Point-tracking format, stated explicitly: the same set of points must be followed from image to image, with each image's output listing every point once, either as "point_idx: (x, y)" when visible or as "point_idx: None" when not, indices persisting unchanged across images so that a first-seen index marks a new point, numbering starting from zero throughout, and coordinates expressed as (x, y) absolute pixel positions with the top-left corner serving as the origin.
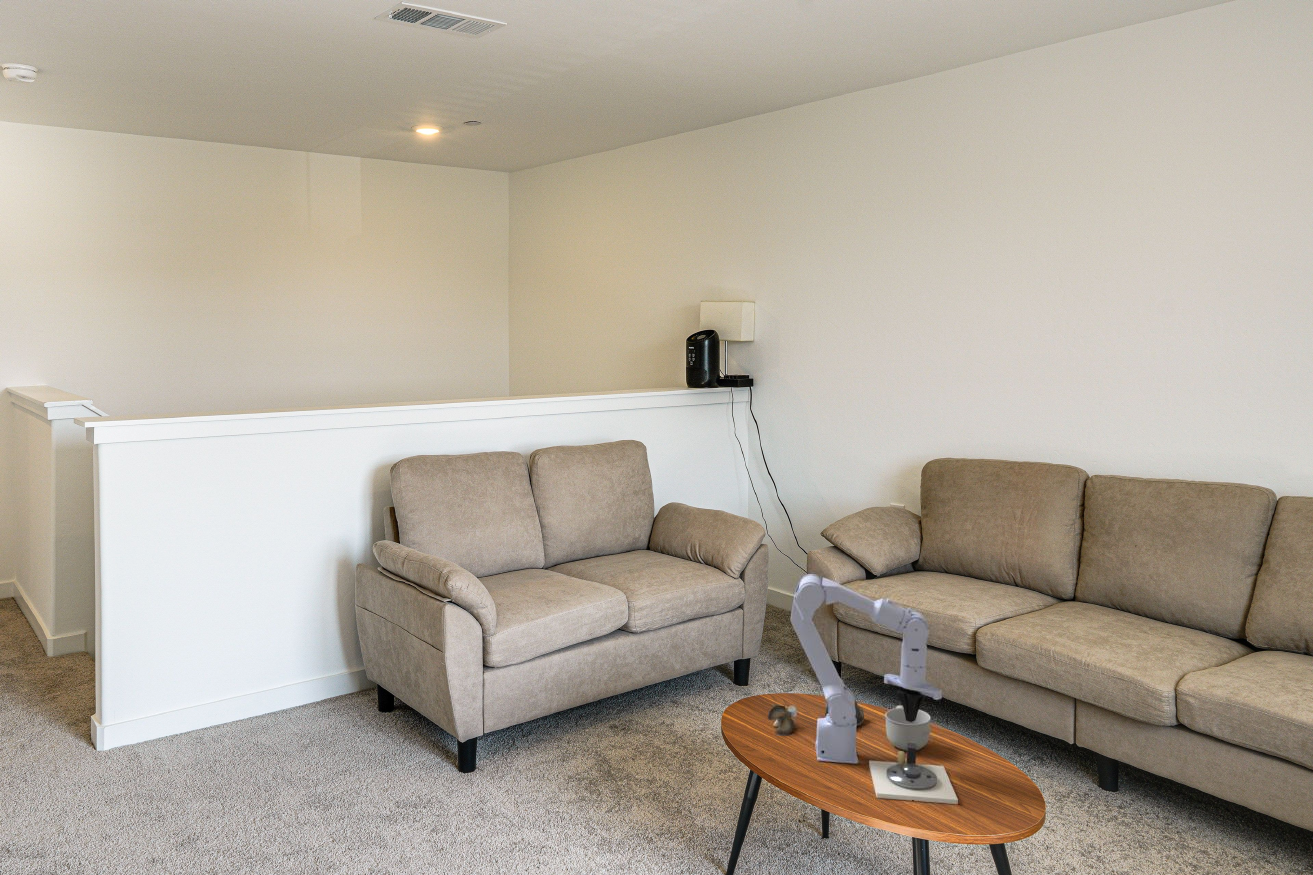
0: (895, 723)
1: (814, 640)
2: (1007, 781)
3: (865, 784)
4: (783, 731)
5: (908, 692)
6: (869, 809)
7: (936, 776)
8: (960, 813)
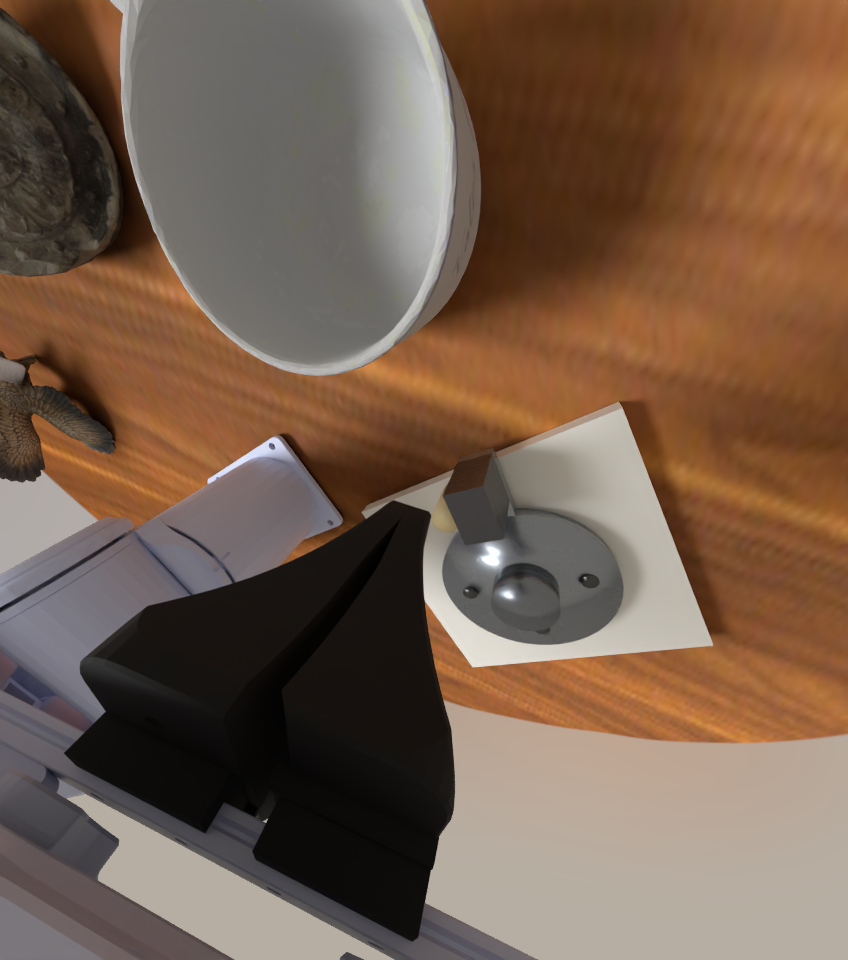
0: (298, 370)
1: None
2: None
3: None
4: (99, 442)
5: (260, 803)
6: (482, 697)
7: (617, 568)
8: (718, 672)
